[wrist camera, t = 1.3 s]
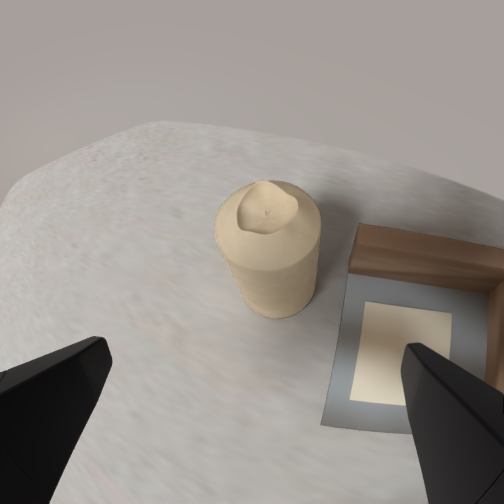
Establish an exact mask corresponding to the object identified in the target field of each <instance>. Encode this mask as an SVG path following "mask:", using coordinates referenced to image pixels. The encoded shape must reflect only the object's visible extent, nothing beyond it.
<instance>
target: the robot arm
mask: <svg viewBox="0 0 504 504" xmlns="http://www.w3.org/2000/svg"><path fill="white" fill-rule="evenodd" d="M111 367H112V356H111V353H110V350H109V347H108V344H107V341H106V339H105V338H103V337H97V336H92V337H90V338H87V339H85V340H82V341H80V342H77V343H75V344H72V345H70V346H67V347H65V348H62V349H59V350H57V351H54V352H52V353H49V354H47V355H44V356H42V357H39V358H37V359H34V360H31V361H29V362H26V363H24V364H21V365H18V366H16V367H13V368H11V369H8V370H7V371H6V370H5V371H3V372H0V504H49V503H50V501H51V498H52V496H53V494H54V491H55V489H56V487H57V485H58V482H59V480H60V478H61V476H62V474H63V471H64V469H65V467H66V465H67V463H68V461H69V459H70V456H71V454H72V452H73V450H74V448H75V446H76V444H77V442H78V440H79V438H80V436H81V434H82V432H83V430H84V428H85V426H86V424H87V422H88V420H89V418H90V416H91V414H92V412H93V410H94V408H95V406H96V404H97V402H98V399H99V397H100V394H101V392H102V389H103V387H104V384H105V382H106V379H107V377H108V374H109V372H110V369H111ZM400 372H401V379H402V385H403V391H404V396H405V403H406V409H407V415H408V420H409V424H410V427H411V431H412V435H413V439H414V442H415V446H416V450H417V454H418V458H419V462H420V466H421V471H422V475H423V479H424V484H425V488H426V493H427V498H428V503H429V504H504V395H503V393H502V392H501V391H499V390H497V389H496V388H494V387H493V386H491V385H489V384H488V383H486V382H484V381H483V380H481V379H480V378H478V377H476V376H475V375H473V374H471V373H470V372H468V371H467V370H465V369H463V368H462V367H460V366H458V365H457V364H455V363H453V362H452V361H450V360H448V359H447V358H445V357H444V356H442V355H440V354H439V353H437V352H435V351H434V350H432V349H430V348H429V347H427V346H425V345H424V344H422V343H420V342H416V343H408V344H407V345H406V346H405V350H404V354H403V359H402V364H401V370H400Z"/></svg>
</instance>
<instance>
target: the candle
mask: <svg viewBox="0 0 504 504" xmlns="http://www.w3.org/2000/svg"><path fill="white" fill-rule="evenodd" d="M321 226H322V223H321V215H320V211H319V209H318V207H317V205H316V203H315V201H314V200H313V199H312V197H311V196H310V195H309V194H308V193H306V192H305V191H304V190H302V189H301V188H299V187H297V186H295V185H293V184H290V183H286V182H282V181H266V180H261V181H258V182H256V183H252V184H249V185H247V186H244V187H242V188H241V189H239V190H237V191H236V192H234V193H233V194H232V195H231V196H230V197H229V198H227V200H226V201H225V202H224V203H223V205H222V206H221V208H220V209H219V212H218V214H217V217H216V220H215V238H216V241H217V244H218V246H219V248H220V250H221V252H222V254H223V256H224V258H225V261H226V263H227V265H228V267H229V269H230V271H231V273H232V275H233V277H234V279H235V281H236V283H237V285H238V287H239V289H240V291H241V294H242V295H243V297H244V299H245V301H246V302H247V304H248V305H249V306H250V307H251V308H252V309H253V310H254V311H255V312H257V313H259V314H260V315H263V316H265V317H268V318H276V319H280V318H286V317H290V316H292V315H295V314H297V313H298V312H300V311H301V310H302V309H303V308H304V307H305V306H306V305H307V304H308V303H309V301H310V300H311V298H312V296H313V293H314V290H315V284H316V276H317V267H318V258H319V248H320V237H321Z"/></svg>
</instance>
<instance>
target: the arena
mask: <svg viewBox="0 0 504 504" xmlns="http://www.w3.org/2000/svg"><path fill="white" fill-rule="evenodd" d="M416 342H420V343H422V344H424V345H425V346H427V347H429V348H430V349H432V350H434V351H435V352H437V353H439V354H440V355H442V356H444V357H445V358H447V359H448V360H450V361H452V362H453V363H455V364H457V365H458V366H460V367H462V368H463V369H465V370H467V371H468V372H470V373H471V374H473V375H475V376H476V377H478V378H480V379H481V380H483V381H484V382H486V383H488V384H489V385H491V386H493V387H494V388H496V389H497V390H499V391H501V392H502V393H503V395H504V249H500V248H495V247H490V246H485V245H480V244H475V243H470V242H465V241H460V240H455V239H449V238H444V237H438V236H433V235H427V234H422V233H416V232H410V231H405V230H399V229H393V228H387V227H380V226H374V225H368V224H362V223H359V226H358V229H357V233H356V237H355V240H354V244H353V248H352V251H351V255H350V258H349V266H348V275H347V282H346V290H345V297H344V304H343V311H342V317H341V324H340V330H339V336H338V342H337V348H336V353H335V359H334V364H333V369H332V374H331V379H330V384H329V389H328V394H327V398H326V403H325V407H324V412H323V416H322V421H321V425H323V426H330V427H337V428H345V429H353V430H362V431H372V432H384V433H398V434H412V431H411V427H410V424H409V420H408V415H407V409H406V403H405V396H404V391H403V385H402V379H401V372H400V370H401V364H402V359H403V354H404V350H405V346H406V345H407V344H408V343H416Z"/></svg>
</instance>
